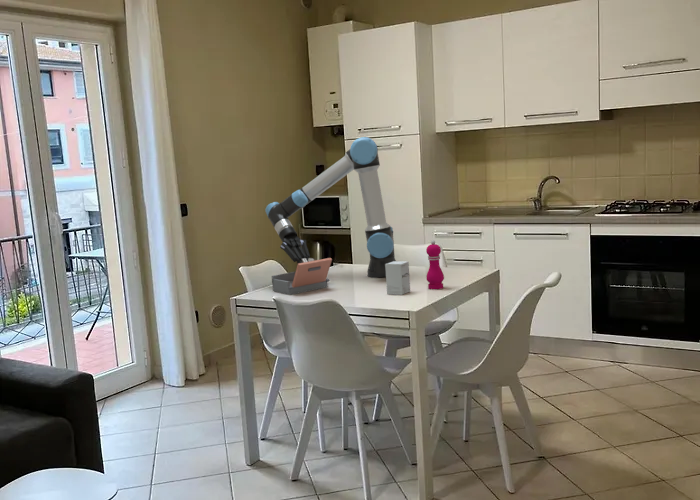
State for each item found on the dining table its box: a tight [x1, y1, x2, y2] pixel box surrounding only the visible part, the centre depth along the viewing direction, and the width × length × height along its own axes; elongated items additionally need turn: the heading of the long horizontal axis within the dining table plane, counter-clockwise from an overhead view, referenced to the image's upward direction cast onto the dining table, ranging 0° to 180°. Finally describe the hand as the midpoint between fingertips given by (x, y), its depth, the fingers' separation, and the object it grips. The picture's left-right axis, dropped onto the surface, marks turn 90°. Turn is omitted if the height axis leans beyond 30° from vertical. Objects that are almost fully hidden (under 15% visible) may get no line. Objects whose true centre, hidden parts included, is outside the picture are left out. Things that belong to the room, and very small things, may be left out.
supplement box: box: [385, 260, 411, 296], centre depth 286 cm, size 7×7×13 cm
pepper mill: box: [426, 239, 445, 290], centre depth 290 cm, size 7×7×20 cm
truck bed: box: [271, 270, 330, 296], centre depth 311 cm, size 15×21×7 cm
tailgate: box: [292, 257, 333, 288], centre depth 302 cm, size 2×17×12 cm
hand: (309, 271), depth 303 cm, fingers closed
